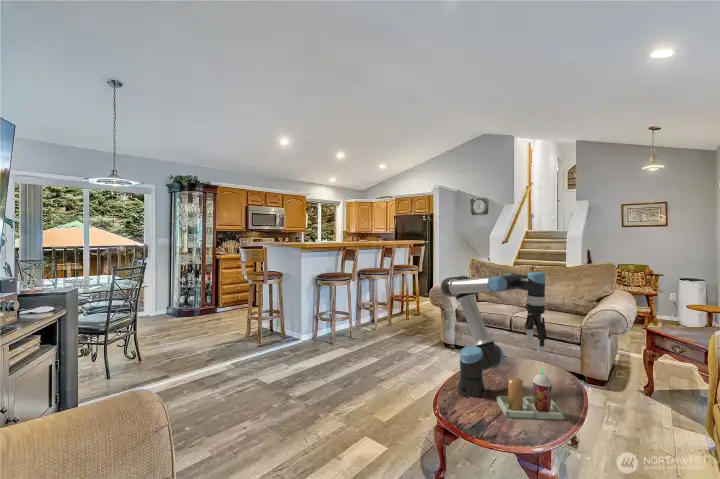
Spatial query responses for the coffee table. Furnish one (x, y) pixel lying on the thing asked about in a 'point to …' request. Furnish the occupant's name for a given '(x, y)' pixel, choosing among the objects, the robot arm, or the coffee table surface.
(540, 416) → the green divided tray
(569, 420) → the coffee table surface
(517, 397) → the tan rounded capsule
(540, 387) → the smoothie
